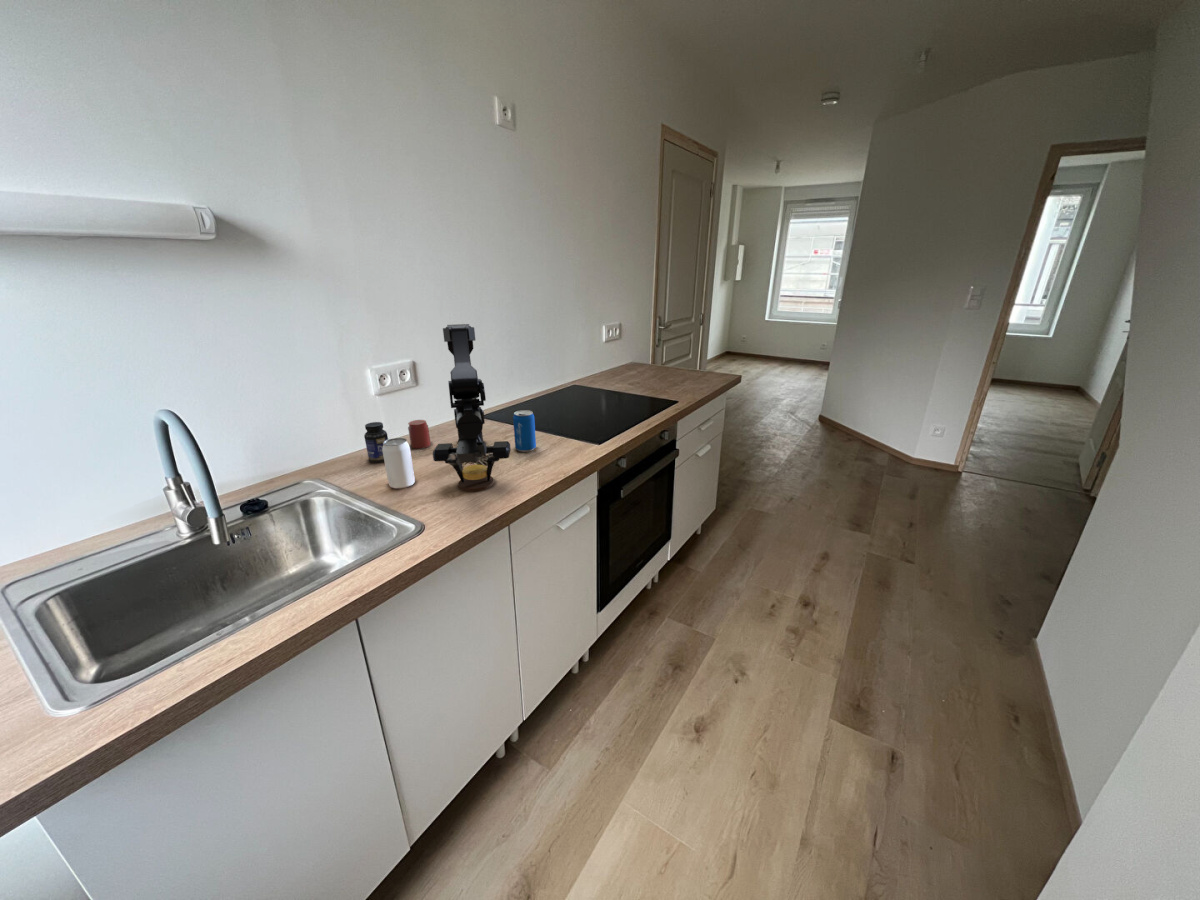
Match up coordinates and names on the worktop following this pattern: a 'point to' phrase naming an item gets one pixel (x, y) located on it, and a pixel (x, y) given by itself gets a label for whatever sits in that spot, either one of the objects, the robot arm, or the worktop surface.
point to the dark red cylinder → (419, 434)
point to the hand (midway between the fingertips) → (476, 481)
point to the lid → (474, 472)
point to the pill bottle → (375, 441)
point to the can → (398, 463)
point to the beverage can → (524, 430)
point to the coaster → (476, 484)
